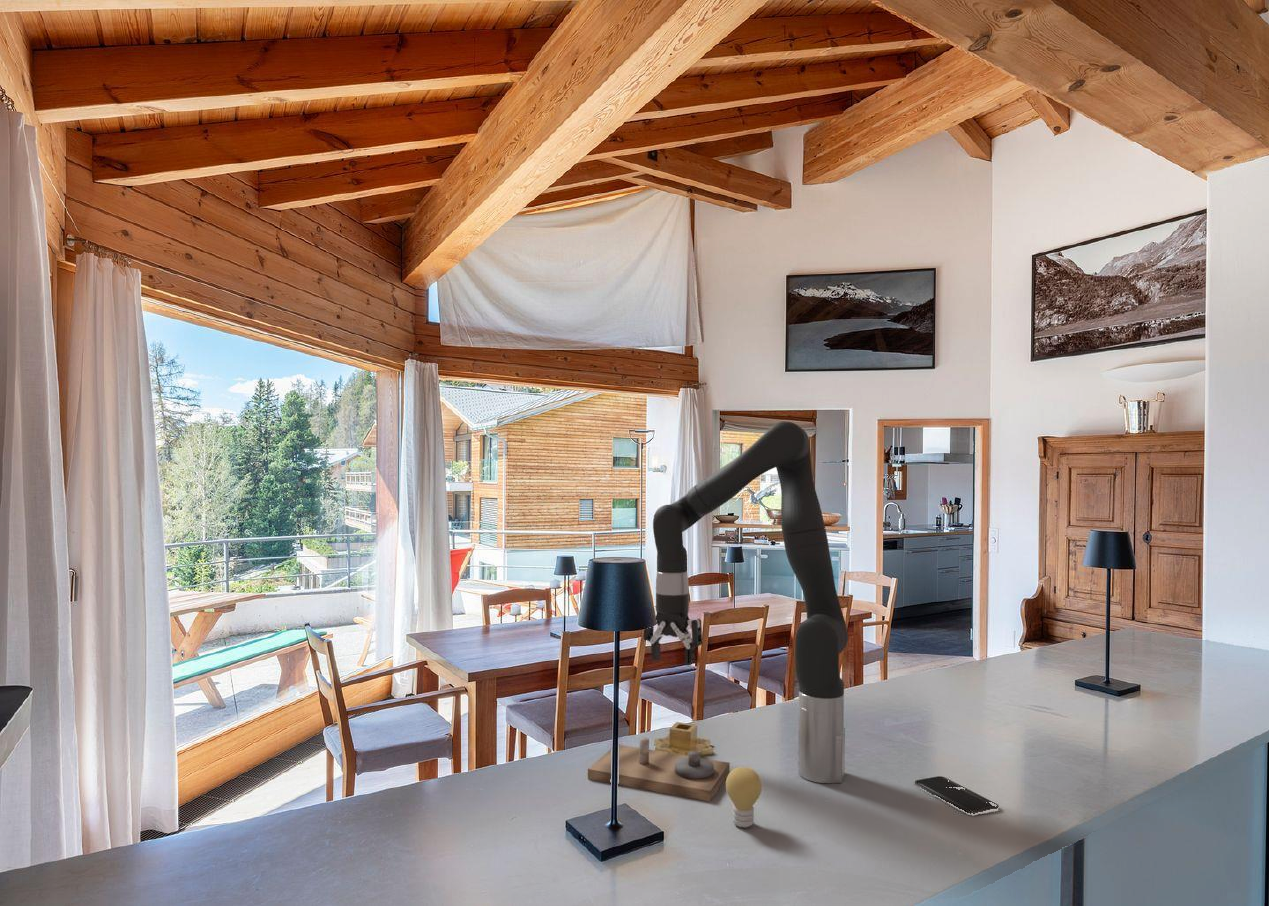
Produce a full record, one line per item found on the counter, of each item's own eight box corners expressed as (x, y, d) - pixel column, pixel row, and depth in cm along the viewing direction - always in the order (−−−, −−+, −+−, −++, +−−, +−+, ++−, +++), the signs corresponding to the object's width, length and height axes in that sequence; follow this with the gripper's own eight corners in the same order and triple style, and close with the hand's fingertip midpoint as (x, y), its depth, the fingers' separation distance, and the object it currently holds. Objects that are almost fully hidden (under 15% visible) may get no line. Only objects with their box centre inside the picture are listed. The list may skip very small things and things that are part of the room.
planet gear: (721, 743, 171) (721, 721, 171) (704, 765, 157) (704, 741, 158) (664, 734, 176) (664, 713, 176) (643, 755, 163) (643, 732, 163)
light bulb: (760, 835, 127) (761, 777, 127) (724, 831, 128) (724, 773, 129) (761, 818, 133) (762, 763, 134) (726, 814, 135) (727, 759, 135)
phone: (970, 812, 135) (912, 780, 149) (970, 819, 135) (912, 786, 149) (1002, 806, 138) (942, 775, 152) (1002, 812, 138) (942, 780, 152)
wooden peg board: (729, 772, 154) (729, 738, 154) (710, 801, 140) (710, 764, 140) (616, 753, 164) (616, 721, 164) (587, 778, 150) (588, 744, 150)
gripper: (707, 591, 167) (707, 663, 166) (654, 586, 174) (654, 655, 174) (691, 596, 160) (691, 670, 160) (637, 590, 168) (637, 661, 168)
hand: (672, 662), depth 167 cm, fingers open, 8 cm apart
